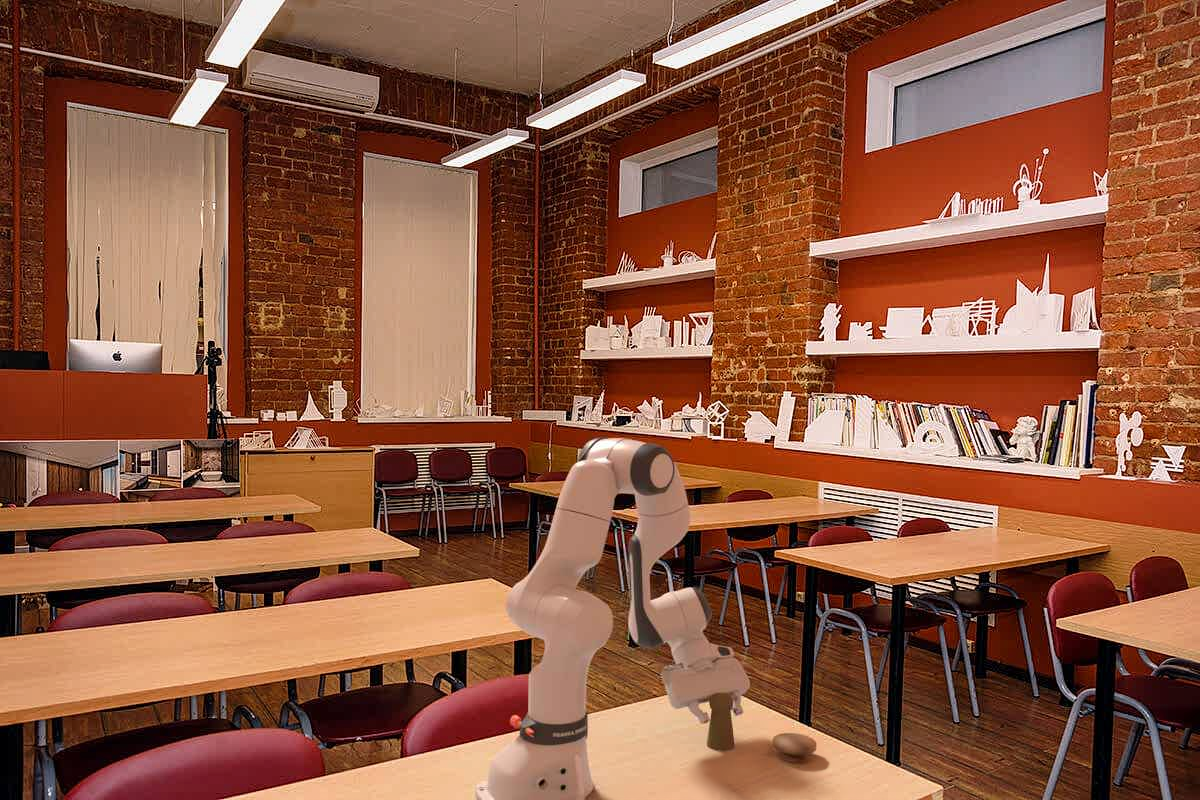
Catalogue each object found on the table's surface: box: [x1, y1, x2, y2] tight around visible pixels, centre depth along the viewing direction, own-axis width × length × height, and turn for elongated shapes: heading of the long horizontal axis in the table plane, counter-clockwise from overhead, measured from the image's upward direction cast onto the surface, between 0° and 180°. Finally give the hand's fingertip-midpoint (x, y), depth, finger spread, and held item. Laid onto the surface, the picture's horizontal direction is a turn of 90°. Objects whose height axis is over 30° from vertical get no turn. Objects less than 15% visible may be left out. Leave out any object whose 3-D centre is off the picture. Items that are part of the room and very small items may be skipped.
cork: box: [706, 693, 736, 752], centre depth 187 cm, size 6×6×11 cm
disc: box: [772, 732, 817, 764], centre depth 181 cm, size 9×9×3 cm
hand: (722, 718), depth 186 cm, fingers open, 8 cm apart
